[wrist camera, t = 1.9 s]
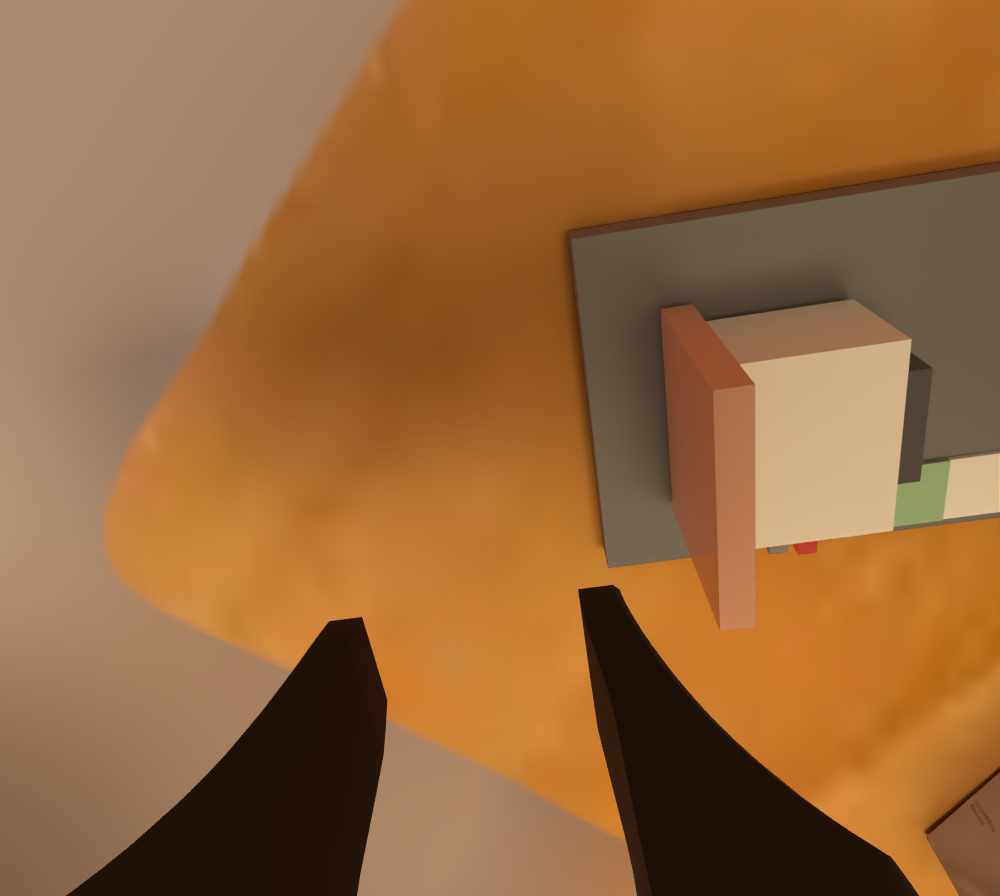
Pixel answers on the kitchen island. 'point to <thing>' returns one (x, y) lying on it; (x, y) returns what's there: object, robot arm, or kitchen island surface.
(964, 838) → the coffee box
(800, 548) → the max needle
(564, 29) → the kitchen island surface
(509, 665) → the kitchen island surface
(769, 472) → the cream and red block
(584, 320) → the board
